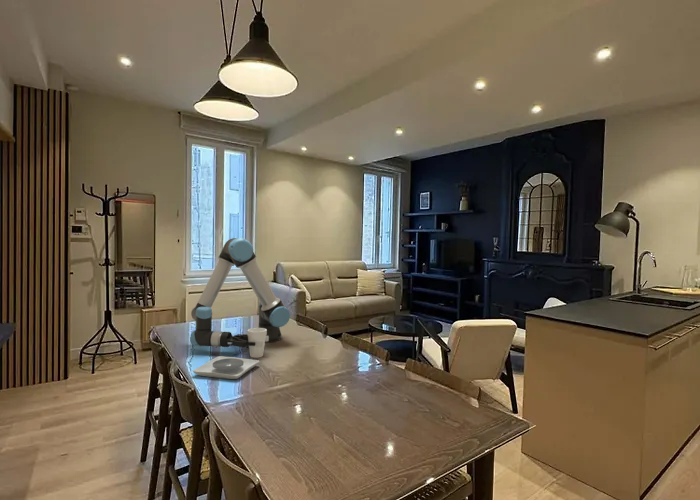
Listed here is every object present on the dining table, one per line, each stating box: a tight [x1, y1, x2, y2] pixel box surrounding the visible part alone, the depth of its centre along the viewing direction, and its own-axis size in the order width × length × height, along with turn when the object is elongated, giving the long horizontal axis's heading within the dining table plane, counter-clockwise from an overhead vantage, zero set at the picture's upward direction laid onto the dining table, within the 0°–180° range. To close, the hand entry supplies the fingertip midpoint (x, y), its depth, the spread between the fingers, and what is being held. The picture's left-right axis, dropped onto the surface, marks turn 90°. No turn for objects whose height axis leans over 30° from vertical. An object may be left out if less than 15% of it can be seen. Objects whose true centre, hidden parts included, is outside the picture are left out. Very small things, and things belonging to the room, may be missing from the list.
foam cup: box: [246, 327, 267, 359], centre depth 192 cm, size 10×9×13 cm
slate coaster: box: [213, 358, 244, 370], centre depth 168 cm, size 13×13×1 cm
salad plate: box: [192, 355, 260, 380], centre depth 168 cm, size 21×21×3 cm
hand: (265, 341), depth 191 cm, fingers open, 10 cm apart
